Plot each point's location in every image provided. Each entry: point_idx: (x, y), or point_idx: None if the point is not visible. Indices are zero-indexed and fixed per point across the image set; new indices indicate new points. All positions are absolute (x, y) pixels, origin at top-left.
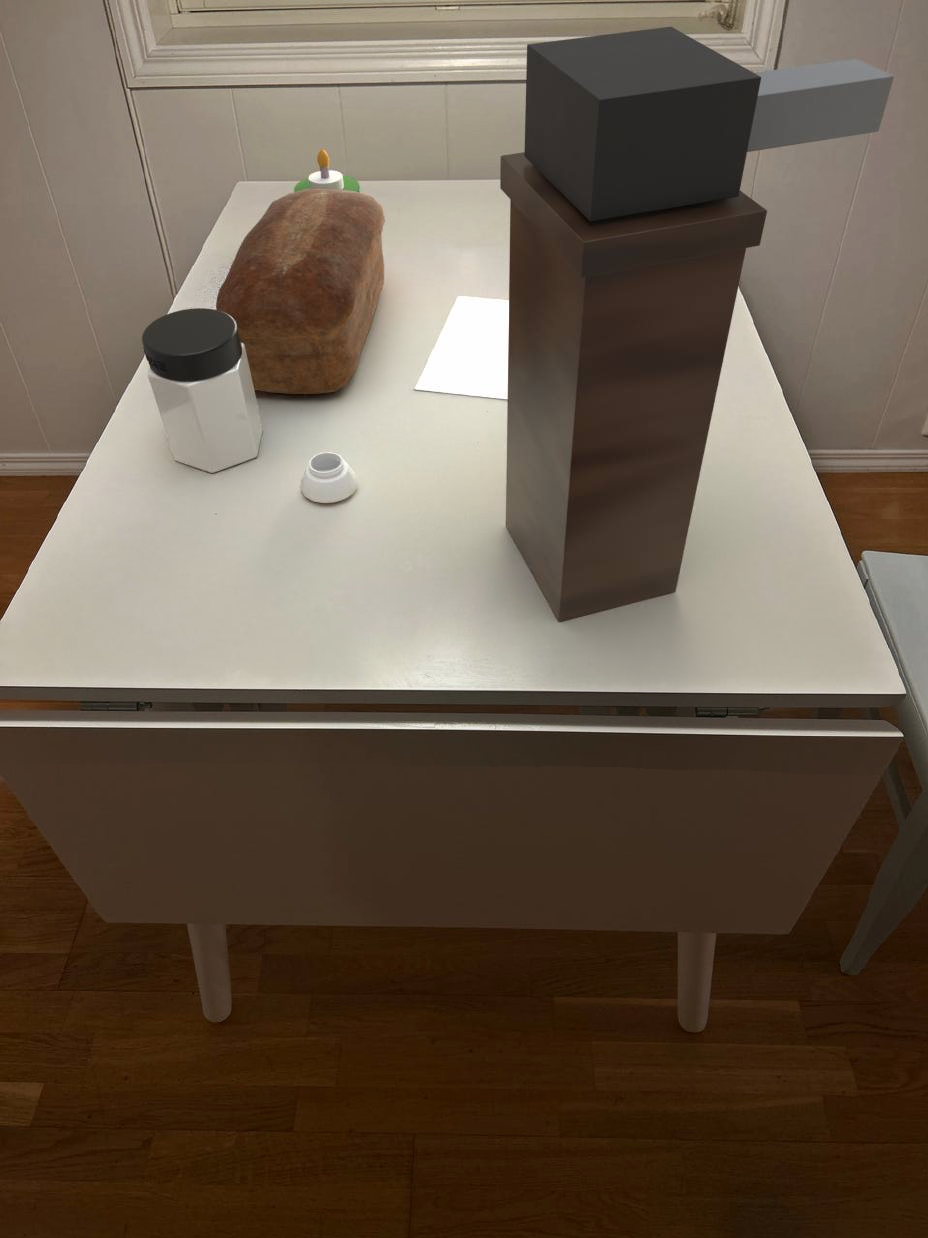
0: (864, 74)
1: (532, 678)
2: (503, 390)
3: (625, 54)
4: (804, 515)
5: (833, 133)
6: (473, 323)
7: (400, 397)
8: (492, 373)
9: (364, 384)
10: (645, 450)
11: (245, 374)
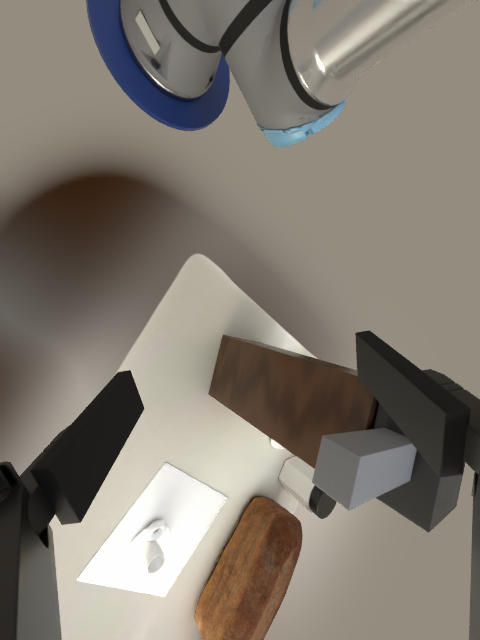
0: (367, 466)
1: (275, 325)
2: (197, 490)
3: (453, 477)
4: (142, 347)
5: (347, 434)
6: (174, 562)
7: (234, 492)
8: (193, 507)
9: (240, 505)
10: (294, 354)
11: (304, 487)
